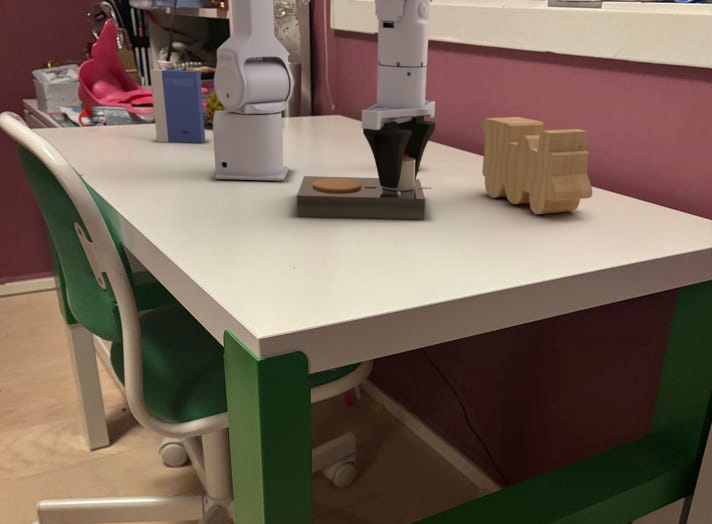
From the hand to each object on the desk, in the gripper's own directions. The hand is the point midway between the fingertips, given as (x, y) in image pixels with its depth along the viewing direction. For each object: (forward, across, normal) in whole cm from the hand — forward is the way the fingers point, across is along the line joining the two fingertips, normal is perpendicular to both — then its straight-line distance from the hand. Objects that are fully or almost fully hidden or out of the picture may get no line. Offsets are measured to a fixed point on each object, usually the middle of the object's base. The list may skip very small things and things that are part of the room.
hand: (398, 183), depth 91 cm
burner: (0, -4, +6) cm, 7 cm away
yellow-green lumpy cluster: (+3, +40, +60) cm, 72 cm away
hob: (+3, -2, +4) cm, 5 cm away
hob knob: (0, 0, 0) cm, 0 cm away
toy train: (+3, +12, -13) cm, 18 cm away
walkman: (+3, +19, +54) cm, 57 cm away
